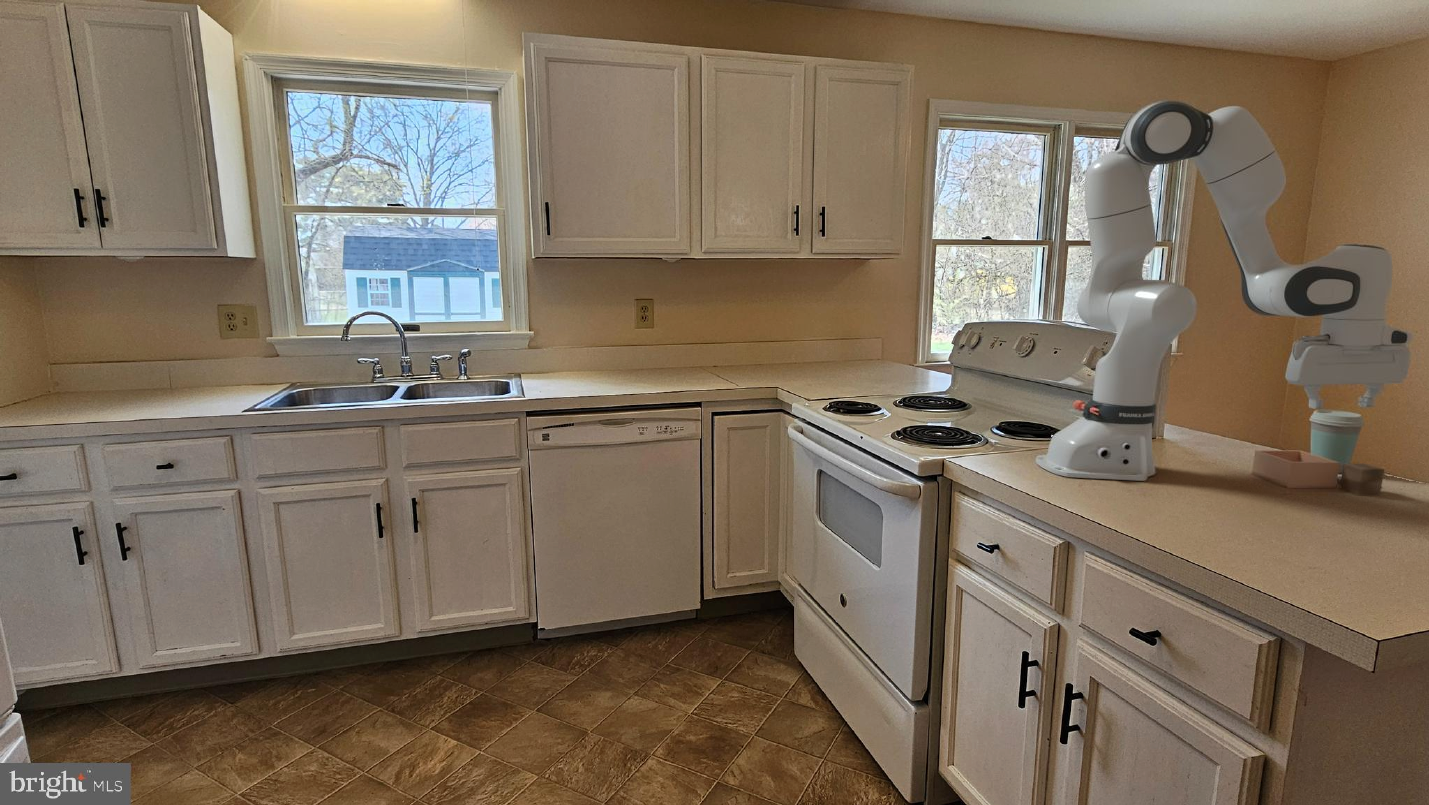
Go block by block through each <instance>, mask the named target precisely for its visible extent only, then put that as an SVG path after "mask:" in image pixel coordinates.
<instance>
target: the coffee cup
mask: <svg viewBox="0 0 1429 805" xmlns="http://www.w3.org/2000/svg"><path fill="white" fill-rule="evenodd" d="M1309 421H1310V453H1311V454H1314V455H1317V456H1320V457H1324V458H1327V459H1330V460H1333V461H1337V462H1340V465H1339V471H1338V474H1342V471H1343V465H1344V464H1351V461H1352V458H1353V455H1354V452H1355V449H1356V445H1357V443H1358V440H1359V437H1360V433H1361V431H1362V427H1365V425H1364V420H1363V416H1362V415H1361V414H1360V413H1355V412H1350V411H1344V410H1334V409H1314V411H1313V413H1312V414H1311V416H1310V418H1309Z"/></svg>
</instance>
